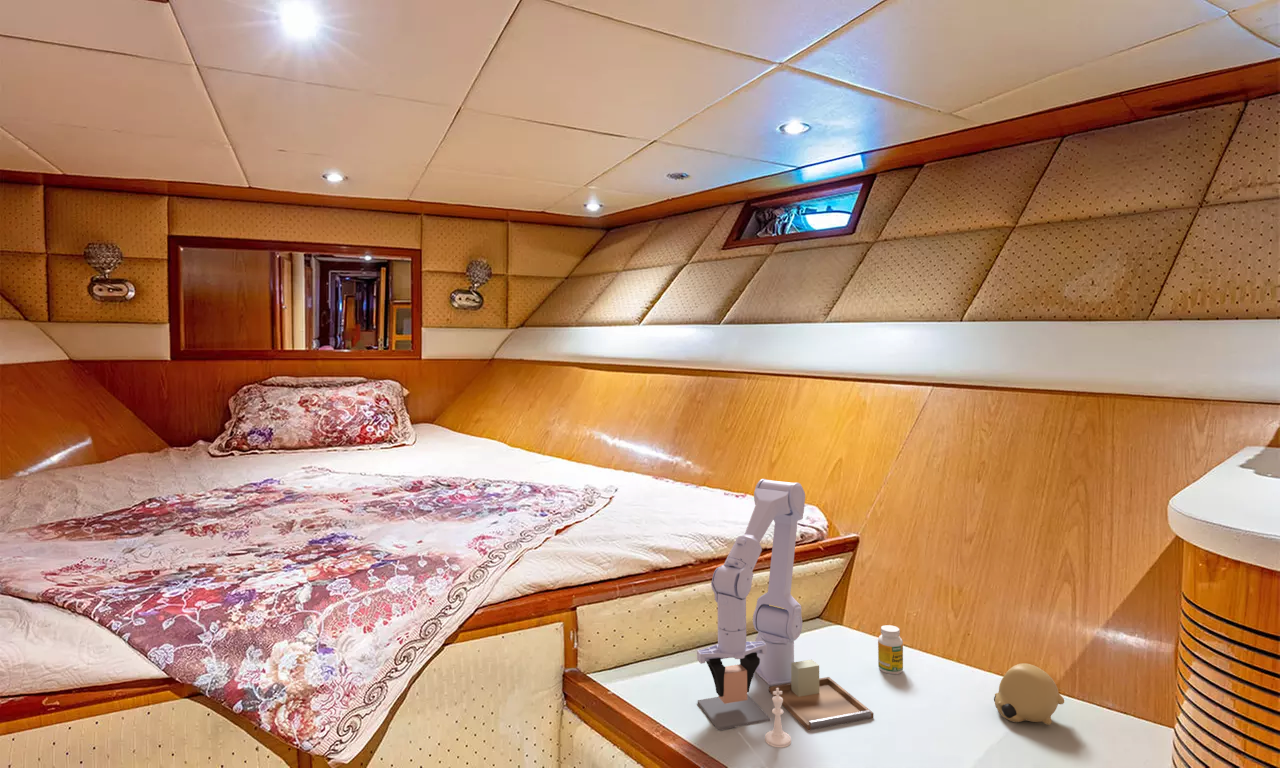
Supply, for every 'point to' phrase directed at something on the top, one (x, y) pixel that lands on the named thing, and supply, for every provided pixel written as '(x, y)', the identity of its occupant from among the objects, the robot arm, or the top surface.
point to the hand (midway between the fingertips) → (732, 692)
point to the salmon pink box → (734, 684)
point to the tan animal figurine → (1027, 695)
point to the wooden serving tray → (823, 705)
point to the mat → (732, 712)
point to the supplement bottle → (890, 650)
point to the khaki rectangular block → (805, 678)
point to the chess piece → (777, 724)
